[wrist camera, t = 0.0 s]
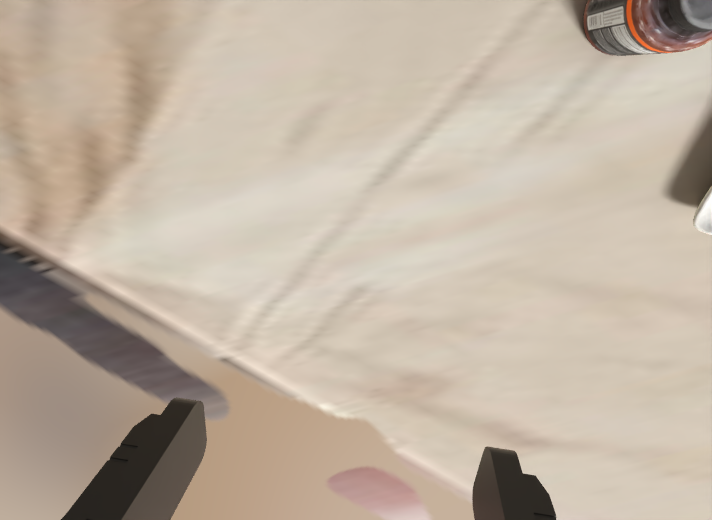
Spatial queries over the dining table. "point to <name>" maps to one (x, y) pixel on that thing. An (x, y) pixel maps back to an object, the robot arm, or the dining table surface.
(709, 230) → the salad plate
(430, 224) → the dining table surface
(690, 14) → the supplement bottle
